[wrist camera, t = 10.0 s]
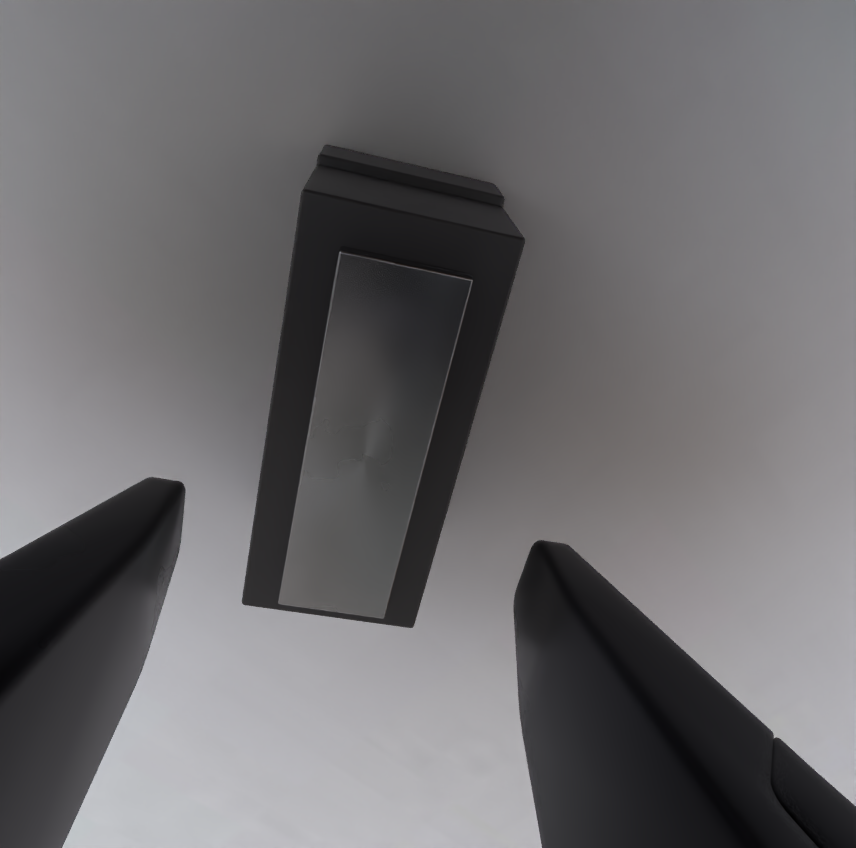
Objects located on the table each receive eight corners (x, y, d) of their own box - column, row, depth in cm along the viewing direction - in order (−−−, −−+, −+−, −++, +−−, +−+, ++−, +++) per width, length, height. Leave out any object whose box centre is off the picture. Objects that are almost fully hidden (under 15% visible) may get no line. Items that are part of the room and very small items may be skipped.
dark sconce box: (324, 143, 12) (300, 180, 9) (495, 183, 13) (533, 233, 9) (267, 509, 15) (235, 633, 12) (405, 531, 16) (409, 656, 13)
